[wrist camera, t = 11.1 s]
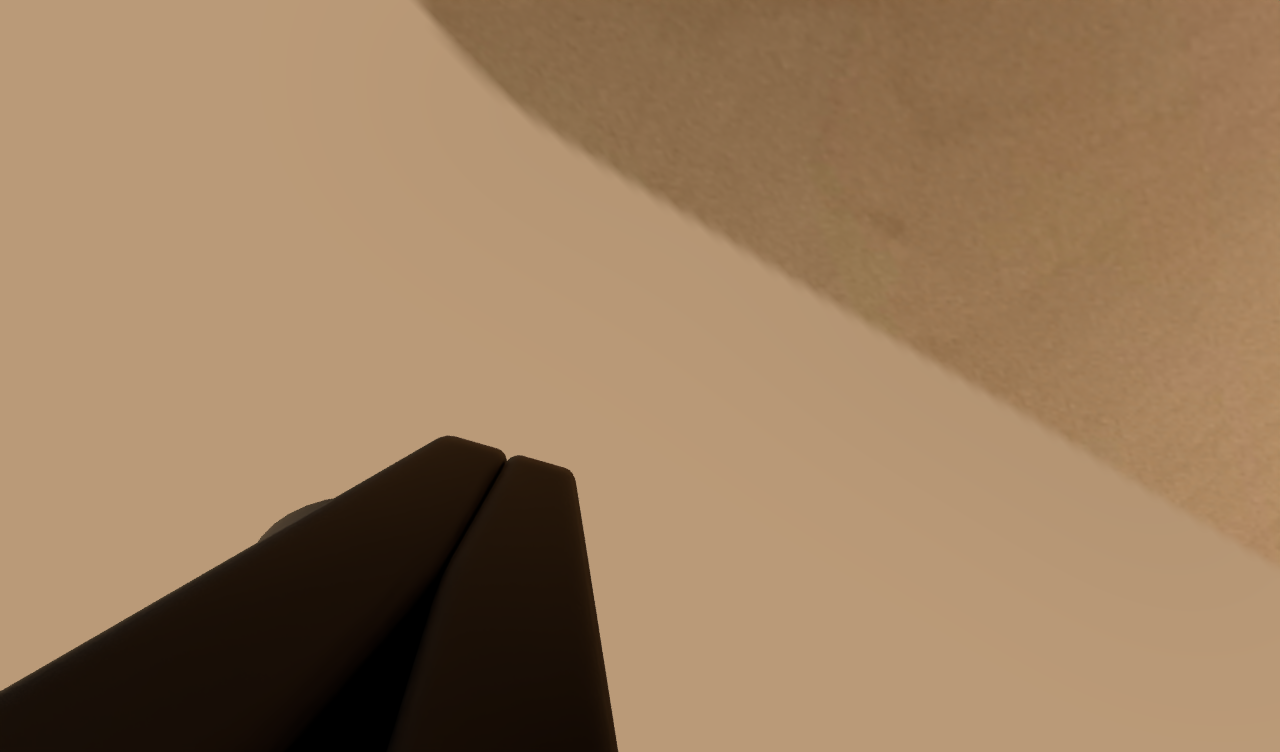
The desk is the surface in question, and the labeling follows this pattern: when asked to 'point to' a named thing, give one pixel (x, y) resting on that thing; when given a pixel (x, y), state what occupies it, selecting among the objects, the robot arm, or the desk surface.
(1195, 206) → the desk surface
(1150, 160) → the desk surface
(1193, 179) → the desk surface
